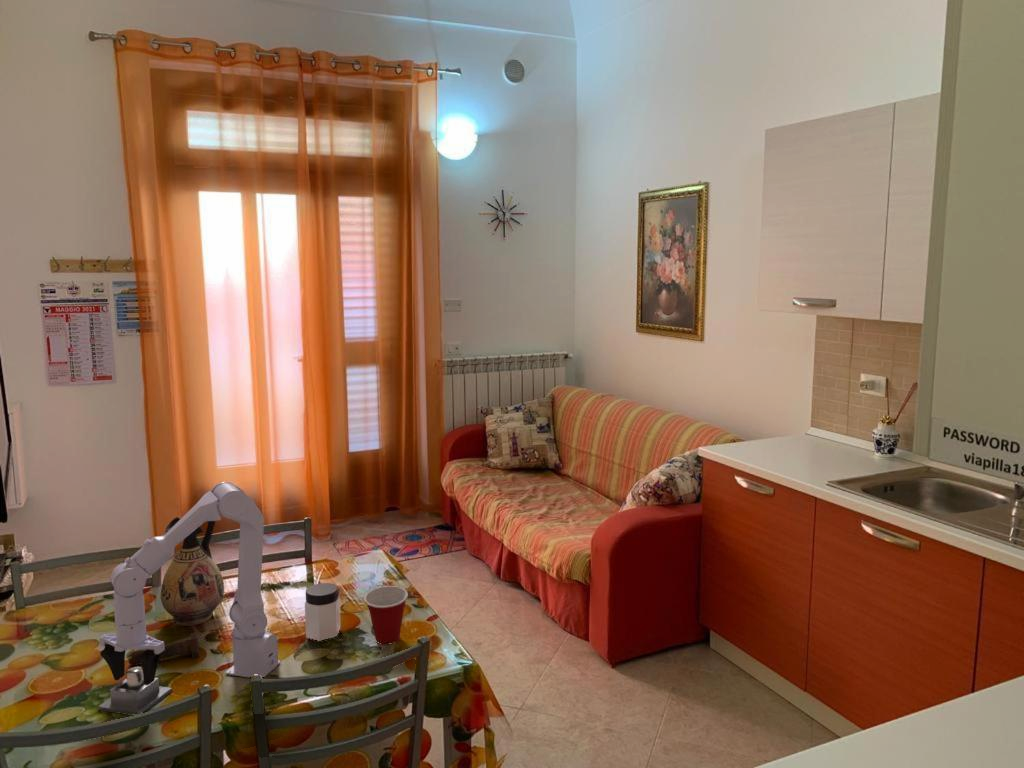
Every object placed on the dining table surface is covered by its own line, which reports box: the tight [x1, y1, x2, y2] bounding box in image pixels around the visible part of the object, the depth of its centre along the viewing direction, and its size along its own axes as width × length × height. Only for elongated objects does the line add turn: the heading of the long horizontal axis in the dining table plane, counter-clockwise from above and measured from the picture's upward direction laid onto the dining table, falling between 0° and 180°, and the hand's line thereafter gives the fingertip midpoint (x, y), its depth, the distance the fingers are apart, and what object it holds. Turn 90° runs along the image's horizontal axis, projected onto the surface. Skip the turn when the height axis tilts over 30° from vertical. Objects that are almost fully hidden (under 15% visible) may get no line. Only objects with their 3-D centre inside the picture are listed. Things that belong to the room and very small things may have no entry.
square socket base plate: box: [97, 677, 173, 716], centre depth 161 cm, size 10×10×4 cm
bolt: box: [128, 632, 200, 666], centre depth 178 cm, size 6×5×15 cm
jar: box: [304, 582, 341, 642], centre depth 191 cm, size 9×8×12 cm
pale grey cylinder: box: [125, 666, 144, 691], centre depth 161 cm, size 3×3×6 cm
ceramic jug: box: [160, 516, 227, 627], centre depth 199 cm, size 17×15×30 cm
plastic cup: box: [363, 585, 409, 645], centre depth 188 cm, size 11×11×12 cm
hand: (134, 680), depth 161 cm, fingers open, 7 cm apart
